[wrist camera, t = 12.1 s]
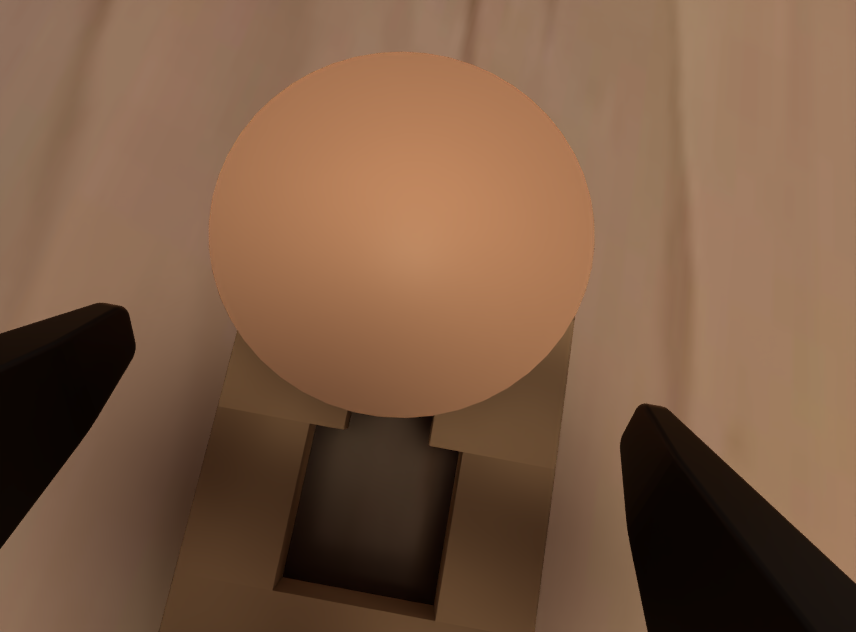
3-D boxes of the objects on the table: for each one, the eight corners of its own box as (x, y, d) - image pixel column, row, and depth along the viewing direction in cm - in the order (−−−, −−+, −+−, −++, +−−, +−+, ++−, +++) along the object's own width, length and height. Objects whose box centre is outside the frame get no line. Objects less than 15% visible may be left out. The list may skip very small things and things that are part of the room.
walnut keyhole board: (471, 853, 17) (489, 984, 13) (161, 794, 17) (86, 908, 13) (548, 301, 21) (580, 276, 17) (294, 253, 21) (266, 218, 17)
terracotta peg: (425, 445, 18) (446, 505, 7) (298, 349, 19) (125, 258, 7) (516, 318, 19) (665, 187, 8) (393, 230, 20) (369, -11, 8)
